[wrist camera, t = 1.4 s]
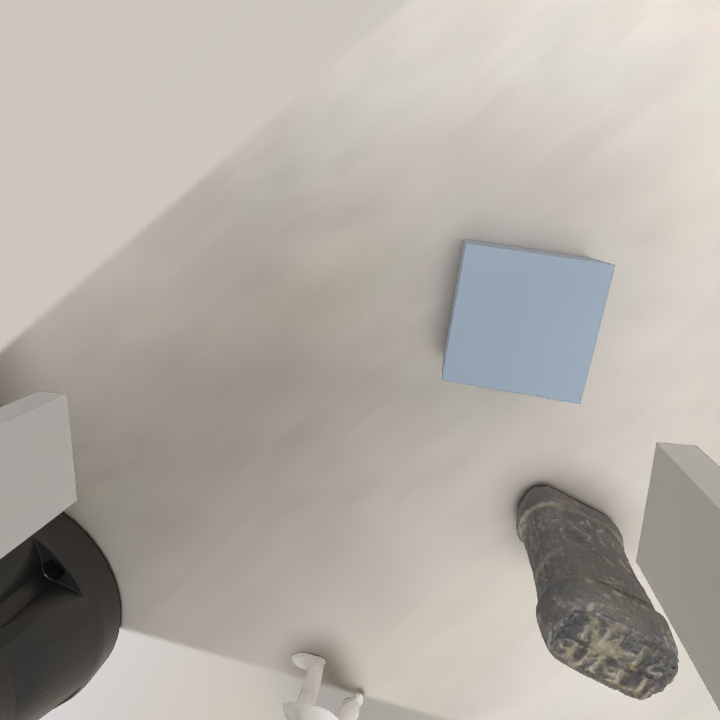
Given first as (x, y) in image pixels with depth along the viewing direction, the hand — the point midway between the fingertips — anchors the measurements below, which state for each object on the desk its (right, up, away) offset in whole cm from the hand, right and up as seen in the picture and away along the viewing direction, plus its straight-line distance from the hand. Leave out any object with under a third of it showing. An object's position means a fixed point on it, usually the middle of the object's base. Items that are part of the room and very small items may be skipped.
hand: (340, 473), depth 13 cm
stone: (+12, -6, +19) cm, 23 cm away
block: (+8, +5, +16) cm, 19 cm away
